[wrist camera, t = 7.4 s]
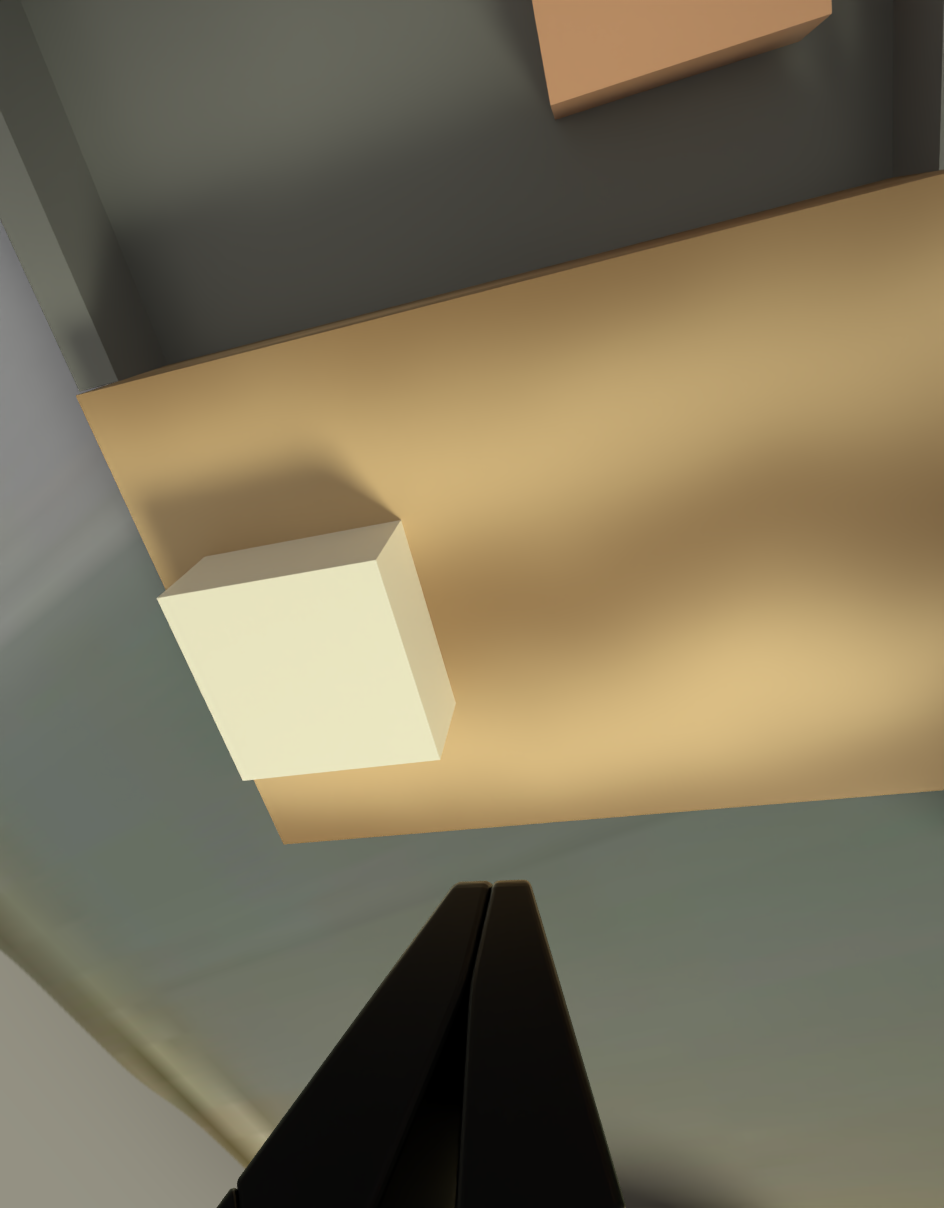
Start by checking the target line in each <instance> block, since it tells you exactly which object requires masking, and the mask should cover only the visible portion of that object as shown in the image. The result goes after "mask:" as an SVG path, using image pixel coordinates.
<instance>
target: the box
mask: <svg viewBox="0 0 944 1208" xmlns="http://www.w3.org/2000/svg"><path fill="white" fill-rule="evenodd" d="M831 1H832V14H831V15H830V16H828V17H827V18H826V19H825V20H824V21H823V22H821V23H820V24H819V25H818V26H817V27H816V28H815V29H813V30H812V31H811V32H810V33H809V34H808V35H806V36H805V37H804V38H803V39H802V40H801V41H799V42H796V43H793V44H790V45H787V46H784V47H780V48H777V49H774V50H771V51H768V52H765V53H762V54H759V55H756V56H752V57H749V58H746V59H743V60H740V61H737V62H734V63H731V64H728V65H725V66H721V67H718V68H715V69H712V70H709V71H706V72H703V73H700V74H697V75H693V76H690V77H687V78H684V79H681V80H678V81H675V82H672V83H669V84H665V85H662V86H659V87H656V88H653V89H650V90H647V91H644V92H641V93H638V94H634V95H631V96H628V97H625V98H622V99H619V100H616V101H613V102H610V103H606V104H603V105H600V106H597V107H594V108H591V109H588V110H585V111H582V112H579V113H575V114H572V115H569V116H566V117H563V118H560V119H557V120H555V118H554V115H553V112H552V109H551V105H550V100H549V94H548V88H547V83H546V77H545V72H544V66H543V60H542V55H541V49H540V43H539V38H538V32H537V26H536V21H535V15H534V9H533V4H532V0H0V219H1V222H2V224H3V226H4V228H5V230H6V232H7V235H8V237H9V239H10V241H11V243H12V245H13V248H14V250H15V252H16V254H17V256H18V258H19V261H20V263H21V265H22V267H23V269H24V272H25V274H26V276H27V278H28V280H29V282H30V285H31V287H32V289H33V291H34V293H35V295H36V298H37V300H38V302H39V304H40V306H41V308H42V311H43V313H44V315H45V317H46V319H47V321H48V324H49V326H50V328H51V330H52V332H53V335H54V337H55V339H56V341H57V343H58V345H59V348H60V350H61V352H62V354H63V356H64V358H65V361H66V363H67V365H68V367H69V369H70V371H71V374H72V376H73V378H74V380H75V382H76V385H77V387H78V389H79V391H83V390H87V389H91V388H95V387H98V386H102V385H106V384H110V383H114V382H118V381H121V380H124V379H127V378H130V377H133V376H136V375H139V374H142V373H145V372H148V371H151V370H154V369H157V368H160V367H163V366H166V365H169V364H173V363H177V362H181V361H185V360H188V359H192V358H196V357H200V356H204V355H208V354H212V353H216V352H219V351H223V350H227V349H231V348H235V347H239V346H243V345H246V344H250V343H254V342H258V341H262V340H266V339H270V338H274V337H277V336H281V335H285V334H289V333H293V332H297V331H301V330H304V329H308V328H312V327H316V326H320V325H324V324H328V323H332V322H335V321H339V320H343V319H347V318H351V317H355V316H359V315H363V314H366V313H370V312H374V311H378V310H382V309H386V308H390V307H393V306H397V305H401V304H405V303H409V302H413V301H417V300H421V299H424V298H428V297H432V296H436V295H440V294H444V293H448V292H452V291H455V290H459V289H463V288H467V287H471V286H475V285H479V284H482V283H486V282H490V281H494V280H498V279H502V278H506V277H510V276H513V275H517V274H521V273H525V272H529V271H533V270H537V269H540V268H544V267H548V266H552V265H556V264H560V263H564V262H568V261H571V260H575V259H579V258H583V257H587V256H591V255H595V254H599V253H602V252H606V251H610V250H614V249H618V248H622V247H626V246H629V245H633V244H637V243H641V242H645V241H649V240H653V239H657V238H660V237H664V236H668V235H672V234H676V233H680V232H684V231H688V230H691V229H695V228H699V227H703V226H707V225H711V224H715V223H718V222H722V221H726V220H730V219H734V218H738V217H742V216H746V215H749V214H753V213H757V212H761V211H765V210H769V209H773V208H777V207H780V206H784V205H788V204H792V203H796V202H800V201H804V200H807V199H811V198H815V197H819V196H823V195H827V194H831V193H835V192H838V191H842V190H846V189H850V188H854V187H858V186H862V185H865V184H869V183H873V182H877V181H881V180H885V179H889V178H893V177H899V176H906V175H912V174H919V173H925V172H932V171H938V170H943V169H944V0H831Z"/></svg>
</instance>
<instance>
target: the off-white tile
mask: <svg viewBox="0 0 944 1208" xmlns="http://www.w3.org/2000/svg"><path fill="white" fill-rule="evenodd" d="M157 600H158V602H159V604H160V606H161V608H162V610H163V612H164V614H165V617H166V619H167V621H168V623H169V625H170V627H171V629H172V631H173V634H174V636H175V638H176V640H177V642H178V644H179V646H180V648H181V650H182V653H183V655H184V657H185V659H186V661H187V663H188V665H189V667H190V670H191V672H192V674H193V676H194V678H195V680H196V682H197V684H198V686H199V689H200V691H201V693H202V695H203V697H204V699H205V701H206V703H207V706H208V708H209V710H210V712H211V714H212V716H213V718H214V720H215V723H216V725H217V727H218V729H219V731H220V733H221V735H222V737H223V739H224V742H225V744H226V746H227V748H228V750H229V752H230V754H231V756H232V759H233V761H234V763H235V765H236V767H237V769H238V771H239V773H240V776H241V778H242V780H243V781H245V780H255V779H264V778H274V777H283V776H293V775H302V774H312V773H321V772H330V771H340V770H349V769H359V768H368V767H378V766H387V765H397V764H406V763H416V762H425V761H435V760H440V759H441V755H442V752H443V748H444V744H445V741H446V737H447V733H448V730H449V726H450V722H451V719H452V715H453V712H454V708H455V704H456V702H455V699H454V696H453V692H452V689H451V686H450V682H449V679H448V676H447V672H446V669H445V665H444V662H443V659H442V655H441V652H440V649H439V645H438V642H437V639H436V635H435V632H434V629H433V625H432V622H431V619H430V615H429V612H428V609H427V605H426V602H425V598H424V595H423V592H422V588H421V585H420V582H419V578H418V575H417V572H416V568H415V565H414V562H413V558H412V555H411V552H410V548H409V545H408V541H407V538H406V535H405V531H404V528H403V525H402V521H401V520H398V521H393V522H387V523H382V524H377V525H371V526H366V527H360V528H355V529H350V530H344V531H339V532H334V533H328V534H323V535H318V536H312V537H307V538H302V539H296V540H291V541H286V542H280V543H275V544H269V545H264V546H259V547H253V548H248V549H243V550H237V551H232V552H227V553H221V554H216V555H211V556H205V557H204V558H203V559H201V560H200V561H199V562H198V563H197V564H196V565H195V566H193V567H192V568H191V569H190V570H189V571H188V572H187V573H185V574H184V575H183V576H182V577H181V578H180V579H178V580H177V581H176V582H175V583H174V584H173V585H172V586H170V587H169V588H168V589H167V590H166V591H165V592H163V593H162V594H161V595H160V596H159V597H158V598H157Z"/></svg>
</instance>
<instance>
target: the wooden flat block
mask: <svg viewBox="0 0 944 1208" xmlns="http://www.w3.org/2000/svg"><path fill="white" fill-rule="evenodd" d="M76 397H77V399H78V401H79V404H80V406H81V408H82V410H83V412H84V414H85V416H86V419H87V421H88V423H89V425H90V427H91V429H92V432H93V434H94V436H95V438H96V440H97V442H98V445H99V447H100V449H101V451H102V453H103V455H104V457H105V460H106V462H107V464H108V466H109V468H110V470H111V473H112V475H113V477H114V479H115V481H116V483H117V486H118V488H119V490H120V492H121V494H122V496H123V498H124V501H125V503H126V505H127V507H128V509H129V511H130V514H131V516H132V518H133V520H134V522H135V524H136V527H137V529H138V531H139V533H140V535H141V537H142V539H143V542H144V544H145V546H146V548H147V550H148V552H149V555H150V557H151V559H152V561H153V563H154V565H155V567H156V570H157V572H158V574H159V576H160V578H161V580H162V583H163V585H164V587H165V589H166V590H167V589H168V588H169V587H170V586H172V585H173V584H174V583H175V582H176V581H177V580H178V579H180V578H181V577H182V576H183V575H184V574H185V573H187V572H188V571H189V570H190V569H191V568H192V567H193V566H195V565H196V564H197V563H198V562H199V561H200V560H201V559H203V558H204V557H205V556H211V555H216V554H221V553H227V552H232V551H237V550H243V549H248V548H253V547H259V546H264V545H269V544H275V543H280V542H286V541H291V540H296V539H302V538H307V537H312V536H318V535H323V534H328V533H334V532H339V531H344V530H350V529H355V528H360V527H366V526H371V525H377V524H382V523H387V522H393V521H398V520H401V521H402V525H403V528H404V531H405V535H406V538H407V541H408V545H409V548H410V552H411V555H412V558H413V562H414V565H415V568H416V572H417V575H418V578H419V582H420V585H421V588H422V592H423V595H424V598H425V602H426V605H427V609H428V612H429V615H430V619H431V622H432V625H433V629H434V632H435V635H436V639H437V642H438V645H439V649H440V652H441V655H442V659H443V662H444V665H445V669H446V672H447V676H448V679H449V682H450V686H451V689H452V692H453V696H454V699H455V702H456V704H455V708H454V712H453V715H452V719H451V722H450V726H449V730H448V733H447V737H446V741H445V744H444V748H443V752H442V755H441V759H440V760H435V761H425V762H416V763H406V764H397V765H387V766H378V767H368V768H359V769H349V770H340V771H330V772H321V773H312V774H302V775H293V776H283V777H274V778H264V779H255V780H254V781H255V783H256V785H257V788H258V790H259V792H260V794H261V796H262V798H263V801H264V803H265V805H266V807H267V809H268V811H269V813H270V816H271V818H272V820H273V822H274V824H275V826H276V829H277V831H278V833H279V835H280V837H281V839H282V842H283V844H293V843H306V842H318V841H330V840H342V839H354V838H366V837H379V836H391V835H403V834H415V833H427V832H439V831H452V830H464V829H476V828H488V827H500V826H513V825H525V824H537V823H549V822H561V821H573V820H586V819H598V818H610V817H622V816H634V815H646V814H659V813H671V812H683V811H695V810H707V809H719V808H732V807H744V806H756V805H768V804H780V803H792V802H805V801H817V800H829V799H841V798H853V797H866V796H878V795H890V794H902V793H914V792H926V791H939V790H944V170H938V171H932V172H925V173H919V174H912V175H906V176H899V177H893V178H889V179H885V180H881V181H877V182H873V183H869V184H865V185H862V186H858V187H854V188H850V189H846V190H842V191H838V192H835V193H831V194H827V195H823V196H819V197H815V198H811V199H807V200H804V201H800V202H796V203H792V204H788V205H784V206H780V207H777V208H773V209H769V210H765V211H761V212H757V213H753V214H749V215H746V216H742V217H738V218H734V219H730V220H726V221H722V222H718V223H715V224H711V225H707V226H703V227H699V228H695V229H691V230H688V231H684V232H680V233H676V234H672V235H668V236H664V237H660V238H657V239H653V240H649V241H645V242H641V243H637V244H633V245H629V246H626V247H622V248H618V249H614V250H610V251H606V252H602V253H599V254H595V255H591V256H587V257H583V258H579V259H575V260H571V261H568V262H564V263H560V264H556V265H552V266H548V267H544V268H540V269H537V270H533V271H529V272H525V273H521V274H517V275H513V276H510V277H506V278H502V279H498V280H494V281H490V282H486V283H482V284H479V285H475V286H471V287H467V288H463V289H459V290H455V291H452V292H448V293H444V294H440V295H436V296H432V297H428V298H424V299H421V300H417V301H413V302H409V303H405V304H401V305H397V306H393V307H390V308H386V309H382V310H378V311H374V312H370V313H366V314H363V315H359V316H355V317H351V318H347V319H343V320H339V321H335V322H332V323H328V324H324V325H320V326H316V327H312V328H308V329H304V330H301V331H297V332H293V333H289V334H285V335H281V336H277V337H274V338H270V339H266V340H262V341H258V342H254V343H250V344H246V345H243V346H239V347H235V348H231V349H227V350H223V351H219V352H216V353H212V354H208V355H204V356H200V357H196V358H192V359H188V360H185V361H181V362H177V363H173V364H169V365H166V366H163V367H160V368H157V369H154V370H151V371H148V372H145V373H142V374H139V375H136V376H133V377H130V378H127V379H124V380H121V381H118V382H115V383H112V384H109V385H106V386H103V387H100V388H97V389H94V390H91V391H88V392H85V393H82V394H79V395H76Z"/></svg>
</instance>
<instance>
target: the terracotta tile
mask: <svg viewBox="0 0 944 1208" xmlns="http://www.w3.org/2000/svg"><path fill="white" fill-rule="evenodd" d="M532 4H533V9H534V15H535V21H536V26H537V32H538V38H539V43H540V49H541V55H542V60H543V66H544V72H545V77H546V83H547V88H548V94H549V100H550V105H551V109H552V112H553V115H554V118H555V120H557V119H560V118H563V117H566V116H569V115H572V114H575V113H579V112H582V111H585V110H588V109H591V108H594V107H597V106H600V105H603V104H606V103H610V102H613V101H616V100H619V99H622V98H625V97H628V96H631V95H634V94H638V93H641V92H644V91H647V90H650V89H653V88H656V87H659V86H662V85H665V84H669V83H672V82H675V81H678V80H681V79H684V78H687V77H690V76H693V75H697V74H700V73H703V72H706V71H709V70H712V69H715V68H718V67H721V66H725V65H728V64H731V63H734V62H737V61H740V60H743V59H746V58H749V57H752V56H756V55H759V54H762V53H765V52H768V51H771V50H774V49H777V48H780V47H784V46H787V45H790V44H793V43H796V42H799V41H801V40H802V39H803V38H804V37H805V36H806V35H808V34H809V33H810V32H811V31H812V30H813V29H815V28H816V27H817V26H818V25H819V24H820V23H821V22H823V21H824V20H825V19H826V18H827V17H828V16H830V15H831V14H832V1H831V0H532Z"/></svg>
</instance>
